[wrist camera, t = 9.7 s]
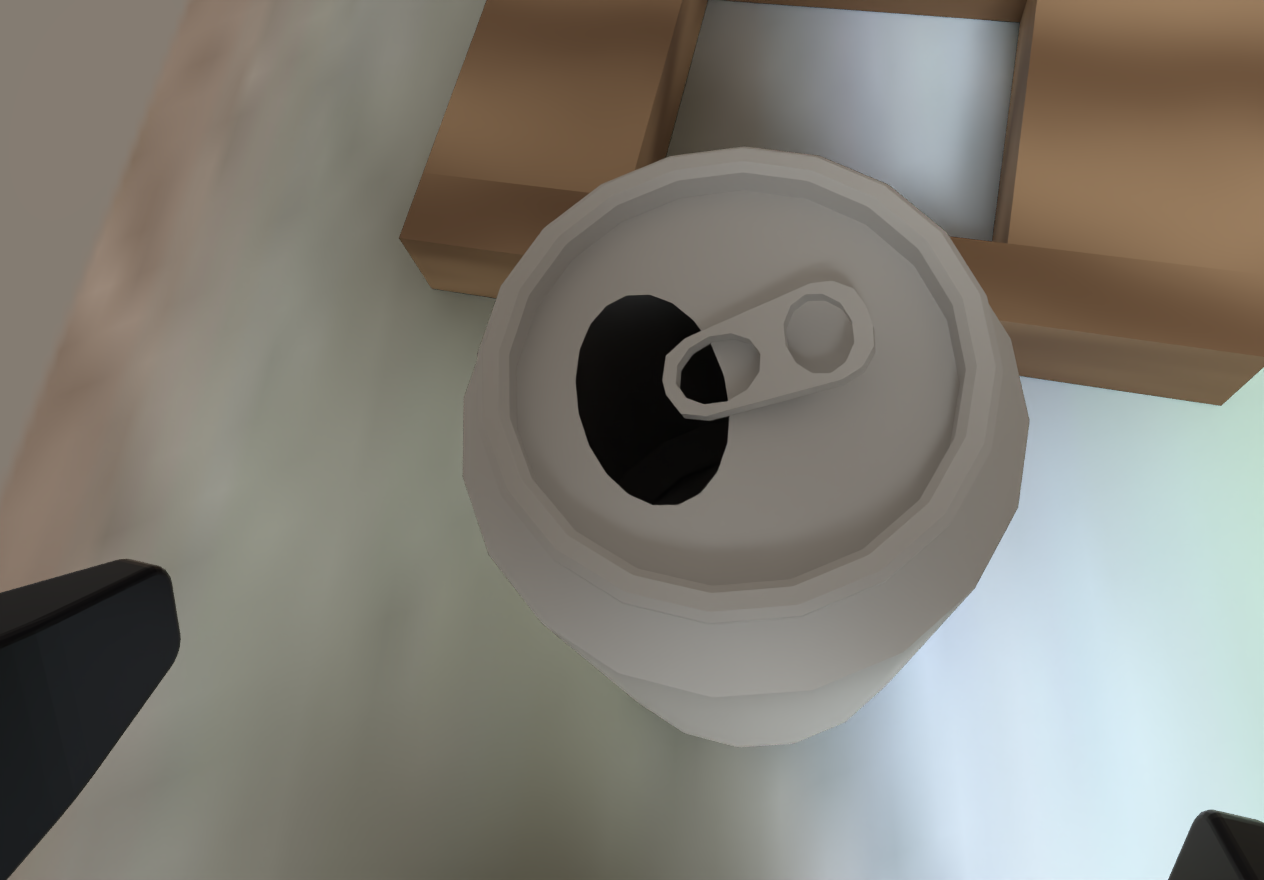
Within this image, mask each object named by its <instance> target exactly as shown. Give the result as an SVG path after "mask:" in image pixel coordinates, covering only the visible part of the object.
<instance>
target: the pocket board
mask: <svg viewBox="0 0 1264 880" xmlns="http://www.w3.org/2000/svg"><path fill="white" fill-rule="evenodd" d="M727 1H740V2H754V3H767V4H781V5H794V6H807V7H821V8H834V9H848V10H861V11H875V12H888V13H902V14H915V15H928V16H942V17H955V18H969V19H982V20H996V21H1009V22H1020V27H1019V34H1018V42H1017V50H1016V58H1015V66H1014V74H1013V81H1012V89H1011V97H1010V105H1009V113H1008V121H1007V128H1006V136H1005V144H1004V152H1003V160H1002V168H1001V175H1000V183H999V191H998V199H997V207H996V214H995V222H994V230H993V238H992V241H983V240H975V239H967V238H958V237H950V236H949V237H950V239H951V240H952V242H953V243H954V245H955V246H956V248H957V250H958V251H959V253H960V254H961V256H962V257H963V259H964V261H965V262H966V264H967V265H968V267H969V269H970V270H971V272H972V273H973V275H974V276H975V278H976V280H977V281H978V283H979V284H980V286H981V287H982V289H983V291H984V292H985V294H986V295H987V299H988V303H989V305H990V307H991V308H992V310H993V312H994V313H995V315H996V316H997V318H998V319H999V321H1000V323H1001V324H1002V326H1003V327H1004V329H1005V331H1006V332H1007V334H1008V335H1009V337H1010V338H1011V342H1012V346H1013V351H1014V355H1015V360H1016V364H1017V368H1018V373H1019V376H1025V377H1031V378H1038V379H1045V380H1051V381H1058V382H1065V383H1072V384H1078V385H1085V386H1092V387H1099V388H1105V389H1112V390H1119V391H1126V392H1132V393H1139V394H1146V395H1152V396H1159V397H1166V398H1173V399H1179V400H1186V401H1193V402H1200V403H1206V404H1213V405H1220V406H1221V405H1222V404H1223V403H1225V402H1226V401H1227V400H1228V399H1229V398H1230V397H1231V396H1232V395H1233V394H1235V393H1236V392H1237V391H1238V390H1239V389H1240V388H1241V387H1242V386H1243V385H1244V384H1246V383H1247V382H1248V381H1249V380H1250V379H1251V378H1252V377H1253V376H1254V375H1255V374H1257V373H1258V372H1259V371H1260V370H1261V369H1262V368H1263V367H1264V0H727ZM707 2H708V0H487V1H486V3H485V6H484V9H483V12H482V14H481V17H480V20H479V22H478V25H477V28H476V31H475V33H474V36H473V39H472V41H471V44H470V47H469V50H468V52H467V55H466V58H465V60H464V63H463V66H462V69H461V71H460V74H459V77H458V79H457V82H456V85H455V87H454V90H453V93H452V96H451V98H450V101H449V104H448V106H447V109H446V112H445V115H444V117H443V120H442V123H441V125H440V128H439V131H438V134H437V136H436V139H435V142H434V144H433V147H432V150H431V153H430V155H429V158H428V161H427V163H426V166H425V169H424V172H423V174H422V177H421V180H420V182H419V185H418V188H417V190H416V193H415V196H414V199H413V201H412V204H411V207H410V209H409V212H408V215H407V218H406V220H405V223H404V226H403V228H402V231H401V234H400V237H399V239H400V240H401V242H402V243H403V245H404V246H405V248H406V250H407V251H408V253H409V254H410V256H411V257H412V259H413V260H414V262H415V263H416V265H417V267H418V268H419V270H420V271H421V273H422V274H423V276H424V277H425V279H426V280H427V282H428V284H429V285H430V287H431V288H432V289H439V290H446V291H452V292H459V293H466V294H472V295H479V296H486V297H493V298H497V295H498V293H499V290H500V287H501V285H502V284H503V282H504V281H505V280H506V278H507V277H508V276H509V274H510V273H511V271H512V270H513V269H514V267H515V266H516V265H517V263H518V262H519V261H520V259H521V258H522V257H523V255H524V254H525V253H526V251H527V250H528V249H529V247H530V246H531V245H532V243H533V242H534V241H535V239H536V238H537V236H538V235H539V234H540V232H541V231H542V230H543V228H545V227H546V226H547V225H548V224H550V223H551V222H552V221H554V220H555V219H556V218H558V217H559V216H560V215H562V214H563V213H564V212H566V211H567V210H568V209H569V208H571V207H572V206H573V205H575V204H576V203H577V202H579V201H580V200H581V199H583V198H584V197H585V196H587V195H588V194H589V193H590V192H592V191H593V190H594V189H596V188H597V187H598V186H600V185H601V184H603V183H605V182H608V181H610V180H613V179H615V178H618V177H620V176H622V175H625V174H627V173H630V172H632V171H635V170H637V169H640V168H642V167H645V166H647V165H649V164H652V163H654V162H657V161H659V160H662V159H664V158H666V154H667V150H668V147H669V143H670V139H671V135H672V132H673V128H674V124H675V121H676V117H677V113H678V109H679V106H680V102H681V98H682V95H683V91H684V87H685V83H686V80H687V76H688V72H689V69H690V65H691V61H692V57H693V54H694V50H695V46H696V43H697V39H698V35H699V31H700V28H701V24H702V20H703V17H704V13H705V9H706V5H707Z"/></svg>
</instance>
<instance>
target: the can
mask: <svg viewBox="0 0 1264 880" xmlns="http://www.w3.org/2000/svg"><path fill="white" fill-rule="evenodd" d="M1028 428H1029V417H1028V412H1027V408H1026V403H1025V399H1024V395H1023V390H1022V386H1021V381H1020V377H1019V373H1018V368H1017V364H1016V360H1015V355H1014V351H1013V346H1012V342H1011V338H1010V337H1009V335H1008V334H1007V332H1006V331H1005V329H1004V327H1003V326H1002V324H1001V323H1000V321H999V319H998V318H997V316H996V315H995V313H994V312H993V310H992V308H991V307H990V305H989V303H988V299H987V295H986V294H985V292H984V291H983V289H982V287H981V286H980V284H979V283H978V281H977V280H976V278H975V276H974V275H973V273H972V272H971V270H970V269H969V267H968V265H967V264H966V262H965V261H964V259H963V257H962V256H961V254H960V253H959V251H958V250H957V248H956V246H955V245H954V243H953V242H952V240H951V239H950V237H949V235H948V234H947V232H946V231H944V230H943V229H942V228H941V227H939V226H938V225H937V224H936V223H935V222H933V221H932V220H931V219H930V218H928V217H927V216H926V215H925V214H924V213H922V212H921V211H920V210H919V209H917V208H916V207H915V206H914V205H913V204H911V203H910V202H909V201H908V200H907V199H905V198H904V197H903V196H902V195H900V194H899V193H898V192H897V191H896V190H894V189H893V188H892V187H891V186H889V185H888V184H886V183H883V182H881V181H878V180H876V179H874V178H871V177H869V176H866V175H864V174H862V173H859V172H857V171H854V170H852V169H850V168H847V167H845V166H842V165H840V164H838V163H835V162H833V161H830V160H828V159H826V158H823V157H821V156H817V155H809V154H802V153H794V152H786V151H778V150H770V149H762V148H754V147H746V146H742V147H735V148H727V149H720V150H712V151H705V152H697V153H689V154H682V155H674V156H669V157H667V158H664V159H662V160H659V161H657V162H654V163H652V164H649V165H647V166H645V167H642V168H640V169H637V170H635V171H632V172H630V173H627V174H625V175H622V176H620V177H618V178H615V179H613V180H610V181H608V182H605V183H603V184H601V185H600V186H598V187H597V188H596V189H594V190H593V191H592V192H590V193H589V194H588V195H587V196H585V197H584V198H583V199H581V200H580V201H579V202H577V203H576V204H575V205H573V206H572V207H571V208H569V209H568V210H567V211H566V212H564V213H563V214H562V215H560V216H559V217H558V218H556V219H555V220H554V221H552V222H551V223H550V224H548V225H547V226H546V227H545V228H543V230H542V231H541V232H540V234H539V235H538V236H537V238H536V239H535V241H534V242H533V243H532V245H531V246H530V247H529V249H528V250H527V251H526V253H525V254H524V255H523V257H522V258H521V259H520V261H519V262H518V263H517V265H516V266H515V267H514V269H513V270H512V271H511V273H510V274H509V276H508V277H507V278H506V280H505V281H504V282H503V284H502V285H501V287H500V290H499V293H498V295H497V298H496V301H495V304H494V307H493V310H492V313H491V316H490V318H489V321H488V324H487V327H486V330H485V333H484V336H483V339H482V341H481V344H480V347H479V350H478V353H477V361H476V364H475V367H474V370H473V373H472V376H471V378H470V381H469V384H468V387H467V390H466V393H465V396H464V420H463V479H464V482H465V485H466V488H467V491H468V494H469V497H470V500H471V503H472V506H473V509H474V512H475V515H476V518H477V521H478V524H479V527H480V530H481V533H482V536H483V539H484V542H485V545H486V548H487V551H488V554H489V556H490V557H491V558H492V560H493V561H494V562H495V563H496V565H497V566H498V567H499V569H500V570H501V571H502V573H503V574H504V575H505V576H506V578H507V579H508V580H509V582H510V583H511V584H512V585H513V587H514V588H515V589H516V591H517V592H518V593H519V594H520V596H521V597H522V598H523V600H524V601H525V602H526V603H527V605H528V606H529V607H530V609H531V610H532V611H533V612H534V614H535V615H536V616H537V618H538V619H539V620H540V622H541V623H542V624H543V625H545V626H546V627H547V628H548V629H549V630H551V631H552V632H553V633H554V634H555V635H557V636H558V637H559V638H560V639H562V640H563V641H564V642H565V643H566V644H568V645H569V646H570V647H571V648H572V649H574V650H575V651H576V652H577V653H578V654H580V655H581V656H582V657H583V658H584V659H586V660H587V661H588V662H589V663H591V664H592V665H593V666H594V667H595V668H597V669H598V670H599V671H600V672H601V673H603V674H604V675H605V676H606V677H607V678H609V679H610V680H611V681H612V682H614V683H615V684H616V685H617V686H618V687H620V688H621V689H622V690H623V691H624V692H626V693H627V694H628V695H629V696H630V697H632V698H633V699H634V700H635V701H636V702H638V703H639V704H641V705H642V706H644V707H645V708H647V709H648V710H650V711H651V712H653V713H654V714H656V715H657V716H659V717H660V718H662V719H663V720H665V721H666V722H668V723H669V724H671V725H673V726H674V727H676V728H677V729H679V730H680V731H682V732H683V733H686V734H689V735H693V736H697V737H701V738H705V739H708V740H712V741H716V742H720V743H723V744H727V745H731V746H735V747H752V746H767V745H782V744H795V743H797V742H799V741H802V740H804V739H806V738H809V737H811V736H814V735H816V734H818V733H821V732H823V731H826V730H828V729H830V728H833V727H835V726H838V725H840V724H842V723H845V722H846V721H847V720H849V719H850V718H851V717H852V716H853V715H854V714H855V713H856V712H857V711H859V710H860V709H861V708H862V707H863V706H864V705H865V704H866V703H867V702H869V701H870V700H871V699H872V698H873V697H874V696H875V695H876V694H877V693H879V692H880V691H881V690H882V689H883V688H884V687H885V686H886V685H887V684H888V683H889V682H890V681H891V680H892V679H893V678H894V677H895V675H896V674H897V673H898V672H899V671H900V670H901V669H902V668H903V667H904V666H905V664H906V663H907V662H908V661H909V660H910V659H911V658H912V657H913V656H914V655H915V653H916V652H917V651H918V650H919V649H920V648H921V647H922V646H923V645H924V644H925V642H926V641H927V640H928V639H929V638H930V637H931V636H932V635H933V634H934V633H935V631H936V630H937V629H938V628H939V627H940V626H941V625H942V624H943V623H944V622H945V620H946V619H947V618H948V617H949V616H950V615H951V614H952V613H953V612H954V611H955V609H956V608H957V607H958V606H959V605H960V604H961V603H962V602H963V601H964V600H965V598H966V597H967V596H968V595H969V594H970V593H971V592H972V591H973V590H974V589H975V587H976V585H977V583H978V581H979V579H980V578H981V576H982V574H983V572H984V570H985V568H986V566H987V565H988V563H989V561H990V559H991V557H992V555H993V553H994V551H995V550H996V548H997V546H998V544H999V542H1000V540H1001V538H1002V536H1003V535H1004V533H1005V531H1006V529H1007V527H1008V525H1009V523H1010V521H1011V520H1012V518H1013V516H1014V514H1015V512H1016V510H1017V508H1018V504H1019V496H1020V489H1021V481H1022V474H1023V466H1024V459H1025V451H1026V443H1027V436H1028Z"/></svg>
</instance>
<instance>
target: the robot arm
mask: <svg viewBox="0 0 1264 880" xmlns="http://www.w3.org/2000/svg"><path fill="white" fill-rule="evenodd" d="M180 640H181V638H180V629H179V623H178V617H177V611H176V605H175V599H174V592H173V586H172V581H171V578H170V576H169V574H168V573H167V571H166V570H165V569H163V568H162V567H160V566H157V565H153V564H149V563H144V562H140V561H136V560H130V559H120V560H115V561H112V562H108V563H105V564H101V565H97V566H94V567H90V568H87V569H83V570H80V571H76V572H73V573H69V574H66V575H62V576H58V577H55V578H51V579H48V580H44V581H41V582H37V583H34V584H30V585H27V586H23V587H19V588H16V589H12V590H9V591H5V592H2V593H0V880H7V879H8V878H9V877H10V876H11V874H12V873H13V872H14V871H15V870H16V869H17V867H18V866H19V865H20V864H21V863H22V862H23V860H24V859H25V858H26V857H27V856H28V855H29V854H30V852H31V851H32V850H33V849H34V848H35V847H36V845H37V844H38V843H39V842H40V841H41V840H42V838H43V837H44V836H45V835H46V834H47V833H48V831H49V830H50V829H51V828H52V827H53V826H54V824H55V823H56V822H57V821H58V820H59V819H60V817H61V816H62V815H63V814H64V812H65V811H66V810H67V809H68V808H69V806H70V805H71V804H72V803H73V802H74V800H75V799H76V798H77V796H78V795H79V794H80V792H81V791H82V790H83V788H84V787H85V786H86V784H87V783H88V782H89V780H90V779H91V778H92V776H93V775H94V774H95V772H96V771H97V770H98V768H99V767H100V765H101V764H102V763H103V761H104V760H105V758H106V757H107V756H108V754H109V753H110V751H111V750H112V749H113V747H114V746H115V744H116V743H117V742H118V740H119V739H120V737H121V736H122V735H123V733H124V732H125V730H126V729H127V728H128V726H129V725H130V723H131V722H132V721H133V719H134V718H135V716H136V715H137V714H138V712H139V711H140V710H141V708H142V707H143V705H144V704H145V703H146V701H147V700H148V698H149V697H150V696H151V694H152V693H153V691H154V690H155V689H156V687H157V686H158V684H159V683H160V682H161V680H162V679H163V677H164V676H165V675H166V673H167V672H168V670H169V669H170V668H171V666H172V665H173V663H174V661H175V659H176V657H177V654H178V651H179V648H180ZM1168 880H1264V823H1263V822H1261V821H1258V820H1255V819H1251V818H1247V817H1242V816H1238V815H1234V814H1229V813H1225V812H1221V811H1216V810H1207V811H1203V812H1201V813H1200V814H1199V815H1198V816H1197V817H1196V819H1195V820H1194V822H1193V823H1192V826H1191V828H1190V830H1189V833H1188V835H1187V837H1186V840H1185V842H1184V844H1183V846H1182V849H1181V851H1180V853H1179V856H1178V858H1177V860H1176V863H1175V865H1174V867H1173V869H1172V872H1171V874H1170V876H1169V879H1168Z"/></svg>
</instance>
